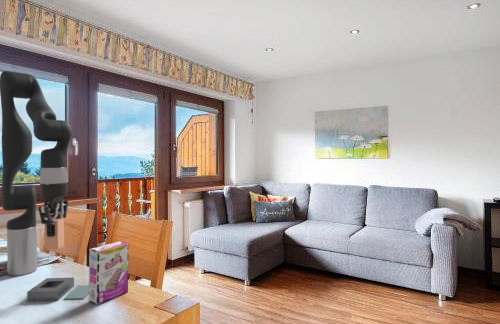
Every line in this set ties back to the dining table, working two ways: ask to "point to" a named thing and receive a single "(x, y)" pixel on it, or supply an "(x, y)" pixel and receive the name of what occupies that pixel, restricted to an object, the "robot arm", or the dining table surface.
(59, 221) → the plug
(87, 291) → the mat
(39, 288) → the grey socket frame
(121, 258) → the candy bar box
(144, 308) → the dining table surface
